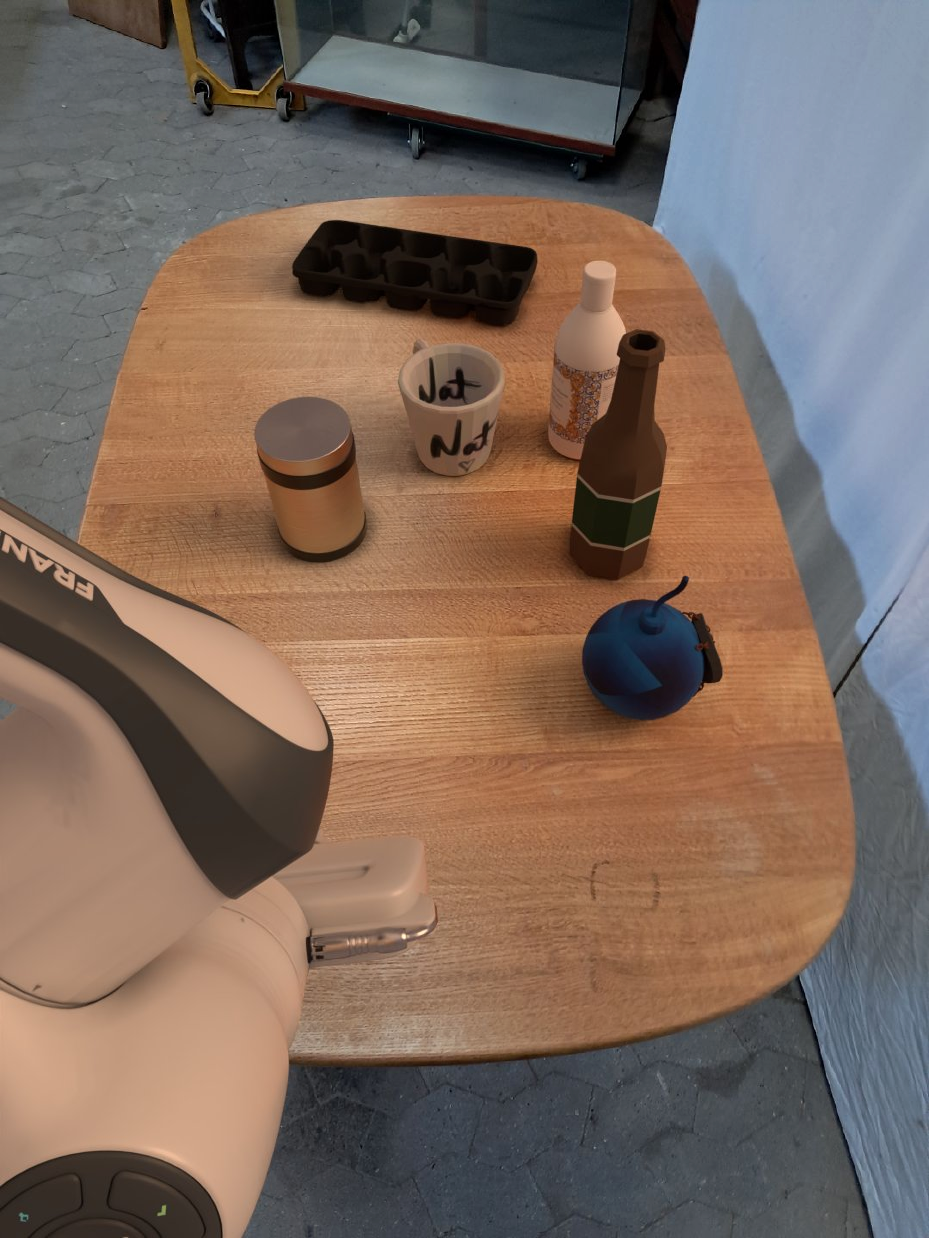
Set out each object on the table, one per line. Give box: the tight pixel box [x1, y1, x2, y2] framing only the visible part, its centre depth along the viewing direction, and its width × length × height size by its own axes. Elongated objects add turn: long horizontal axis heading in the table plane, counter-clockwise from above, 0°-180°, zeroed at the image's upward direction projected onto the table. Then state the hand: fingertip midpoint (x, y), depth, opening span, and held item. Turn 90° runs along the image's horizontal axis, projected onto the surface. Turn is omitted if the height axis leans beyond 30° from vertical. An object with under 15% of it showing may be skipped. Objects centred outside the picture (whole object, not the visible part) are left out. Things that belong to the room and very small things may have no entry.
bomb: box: [581, 575, 724, 722], centre depth 72 cm, size 10×11×15 cm
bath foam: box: [547, 260, 627, 460], centre depth 88 cm, size 7×7×20 cm
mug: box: [397, 338, 506, 477], centre depth 93 cm, size 10×15×10 cm
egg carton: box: [291, 219, 539, 327], centre depth 112 cm, size 18×30×4 cm, turn 86°
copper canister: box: [253, 396, 368, 563], centre depth 84 cm, size 9×9×13 cm
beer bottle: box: [568, 328, 668, 581], centre depth 77 cm, size 8×8×24 cm
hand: (256, 847), depth 54 cm, fingers closed on pill bottle, 5 cm apart
